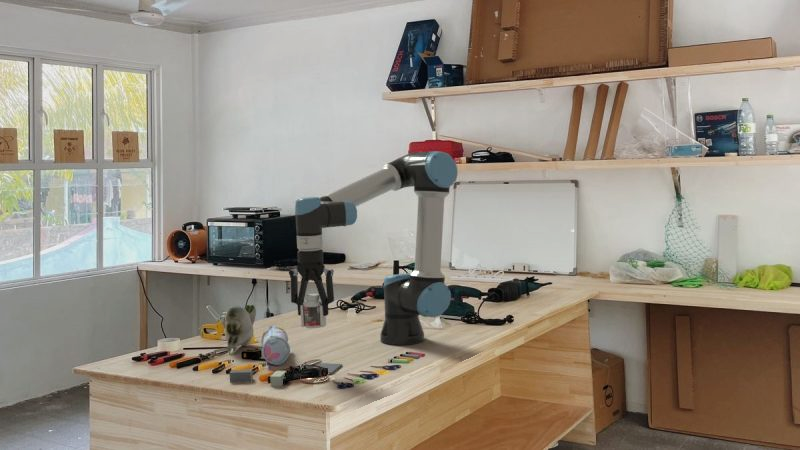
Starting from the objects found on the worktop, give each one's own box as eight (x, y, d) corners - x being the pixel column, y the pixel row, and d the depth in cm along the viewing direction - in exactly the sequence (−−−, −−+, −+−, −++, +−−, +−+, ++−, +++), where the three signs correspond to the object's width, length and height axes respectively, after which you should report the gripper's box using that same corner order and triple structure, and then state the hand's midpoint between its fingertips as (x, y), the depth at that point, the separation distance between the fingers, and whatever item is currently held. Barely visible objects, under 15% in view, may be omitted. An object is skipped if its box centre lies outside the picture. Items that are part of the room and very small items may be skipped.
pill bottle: (301, 328, 242) (299, 296, 241) (310, 324, 247) (309, 292, 246) (317, 329, 240) (315, 296, 239) (326, 325, 245) (324, 293, 244)
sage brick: (276, 381, 234) (276, 370, 234) (286, 381, 233) (286, 370, 233) (270, 386, 228) (270, 376, 228) (281, 387, 227) (280, 376, 227)
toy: (243, 355, 266) (264, 339, 286) (241, 309, 264) (261, 296, 284) (219, 355, 268) (241, 339, 287) (216, 309, 266) (238, 296, 286)
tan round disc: (306, 375, 238) (306, 372, 238) (332, 376, 236) (332, 373, 236) (296, 382, 230) (296, 380, 230) (323, 384, 228) (323, 381, 228)
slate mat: (311, 364, 250) (311, 362, 250) (342, 365, 248) (342, 363, 248) (299, 373, 241) (299, 371, 241) (331, 374, 238) (331, 372, 238)
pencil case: (261, 352, 269) (260, 324, 268) (288, 350, 271) (287, 322, 270) (262, 367, 249) (261, 337, 248) (291, 365, 250) (290, 335, 249)
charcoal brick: (229, 382, 233) (229, 372, 233) (232, 380, 236) (231, 369, 236) (250, 382, 233) (250, 372, 233) (252, 379, 236) (252, 369, 236)
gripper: (276, 251, 240) (280, 328, 242) (335, 250, 235) (338, 329, 237) (286, 247, 247) (290, 322, 249) (343, 247, 242) (347, 324, 245)
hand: (313, 326), depth 243 cm, fingers closed on pill bottle, 5 cm apart
